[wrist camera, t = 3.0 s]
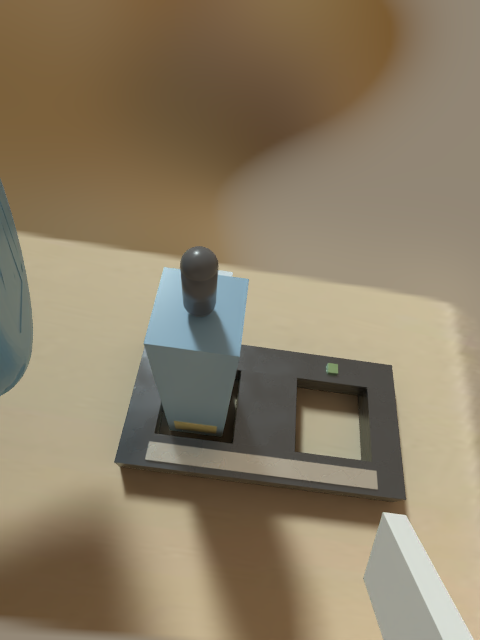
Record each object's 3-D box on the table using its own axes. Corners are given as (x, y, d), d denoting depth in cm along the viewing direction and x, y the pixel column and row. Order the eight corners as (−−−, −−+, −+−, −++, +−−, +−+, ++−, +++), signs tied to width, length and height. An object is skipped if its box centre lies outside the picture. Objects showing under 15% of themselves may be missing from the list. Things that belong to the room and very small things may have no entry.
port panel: (119, 466, 27) (113, 461, 25) (151, 342, 32) (148, 330, 30) (392, 501, 27) (408, 499, 25) (381, 374, 32) (393, 363, 30)
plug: (169, 430, 28) (127, 293, 12) (181, 371, 31) (160, 190, 14) (222, 437, 28) (249, 310, 12) (229, 378, 31) (261, 205, 15)
